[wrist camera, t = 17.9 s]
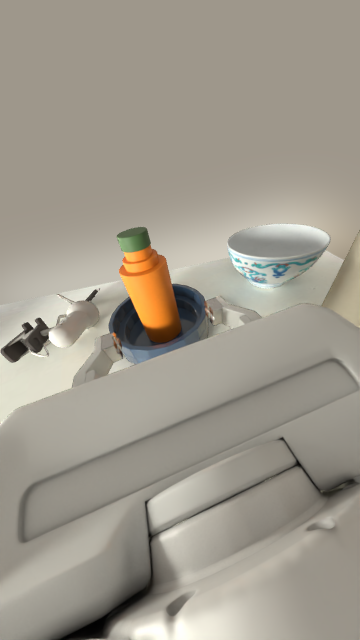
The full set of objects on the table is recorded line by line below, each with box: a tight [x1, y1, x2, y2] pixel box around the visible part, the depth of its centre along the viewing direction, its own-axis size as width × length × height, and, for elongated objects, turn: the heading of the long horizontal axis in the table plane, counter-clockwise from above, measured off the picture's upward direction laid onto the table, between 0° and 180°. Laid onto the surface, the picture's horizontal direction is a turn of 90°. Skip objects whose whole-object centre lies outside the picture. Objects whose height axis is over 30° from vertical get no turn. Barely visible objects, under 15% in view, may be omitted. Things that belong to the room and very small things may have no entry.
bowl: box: [109, 284, 209, 365], centre depth 26 cm, size 14×14×4 cm
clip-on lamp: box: [1, 288, 100, 363], centre depth 31 cm, size 12×6×18 cm
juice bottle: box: [117, 227, 181, 343], centre depth 22 cm, size 6×6×14 cm
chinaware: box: [227, 224, 331, 288], centre depth 31 cm, size 15×15×8 cm
